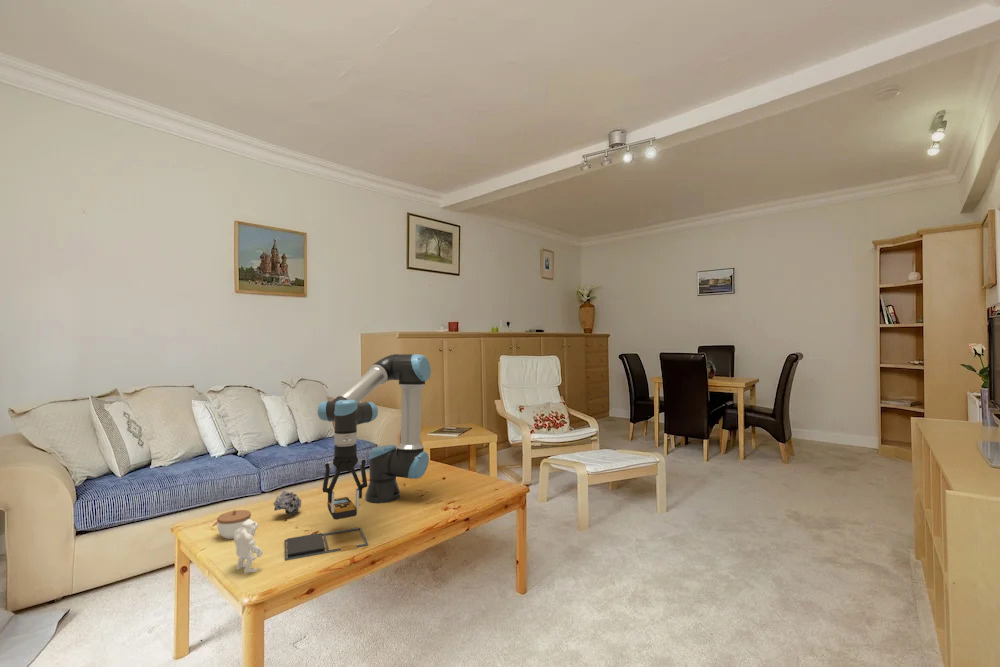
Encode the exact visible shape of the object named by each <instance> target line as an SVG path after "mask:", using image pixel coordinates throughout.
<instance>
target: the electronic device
mask: <svg viewBox="0 0 1000 667" xmlns="http://www.w3.org/2000/svg"><path fill="white" fill-rule="evenodd" d="M327 509H328V511H329V513H330V515H331V517H332V519H333V520H336V521H338V520H344V519H348V518H353V517H356V516H357V514H358V509H356V505H355V504H354V503H353V502H352V500H350V499H349V497H348V496H344V497H339V498H334V513H332V512H331V502H330V503H329V502H328V501H327Z"/></svg>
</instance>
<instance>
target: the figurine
mask: <svg viewBox="0 0 1000 667" xmlns="http://www.w3.org/2000/svg"><path fill="white" fill-rule="evenodd" d="M258 527H259V524H258V522H257V521H256V520H254V521H253V520H252V519H248V520H247V521H245V522H243V523H242V527H241V528H239V529H237V530H236V531H235V532H234V539H233V540H234V541H233V542H234V544H235V549H236V556H237V557H239V558H238V559H237V566H236V570H241V569H243V568H244V571H243V574H248V573H257V572H258V570H259V568H257V567H255V568H251V565H252V563H253V561H255V560H257V558H261V557H262V555H263V550H262V549H261V547H259V546H258V545H256V540H255V538H254V536H255V535H256V530H257V529H258ZM254 554H255V555H256V556H255V555H254ZM245 561H246V562H245Z"/></svg>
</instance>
